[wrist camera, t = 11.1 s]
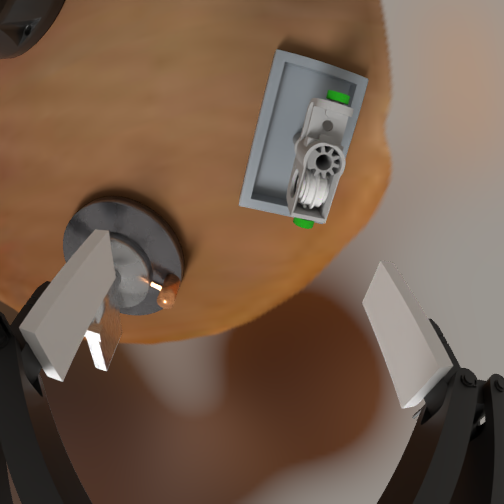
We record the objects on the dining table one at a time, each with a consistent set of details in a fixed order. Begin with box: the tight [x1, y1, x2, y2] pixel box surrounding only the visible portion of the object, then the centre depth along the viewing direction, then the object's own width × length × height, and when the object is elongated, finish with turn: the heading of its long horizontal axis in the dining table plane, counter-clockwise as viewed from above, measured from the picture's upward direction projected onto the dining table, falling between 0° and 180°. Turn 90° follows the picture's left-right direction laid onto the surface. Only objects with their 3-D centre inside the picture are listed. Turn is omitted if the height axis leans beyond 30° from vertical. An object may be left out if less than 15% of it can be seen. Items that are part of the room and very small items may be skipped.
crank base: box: [63, 196, 184, 315], centre depth 32 cm, size 17×17×6 cm
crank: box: [84, 232, 153, 371], centre depth 29 cm, size 15×10×11 cm, turn 167°
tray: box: [239, 49, 369, 224], centre depth 26 cm, size 16×9×2 cm, turn 167°
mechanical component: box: [287, 90, 354, 229], centre depth 23 cm, size 3×10×10 cm, turn 169°
